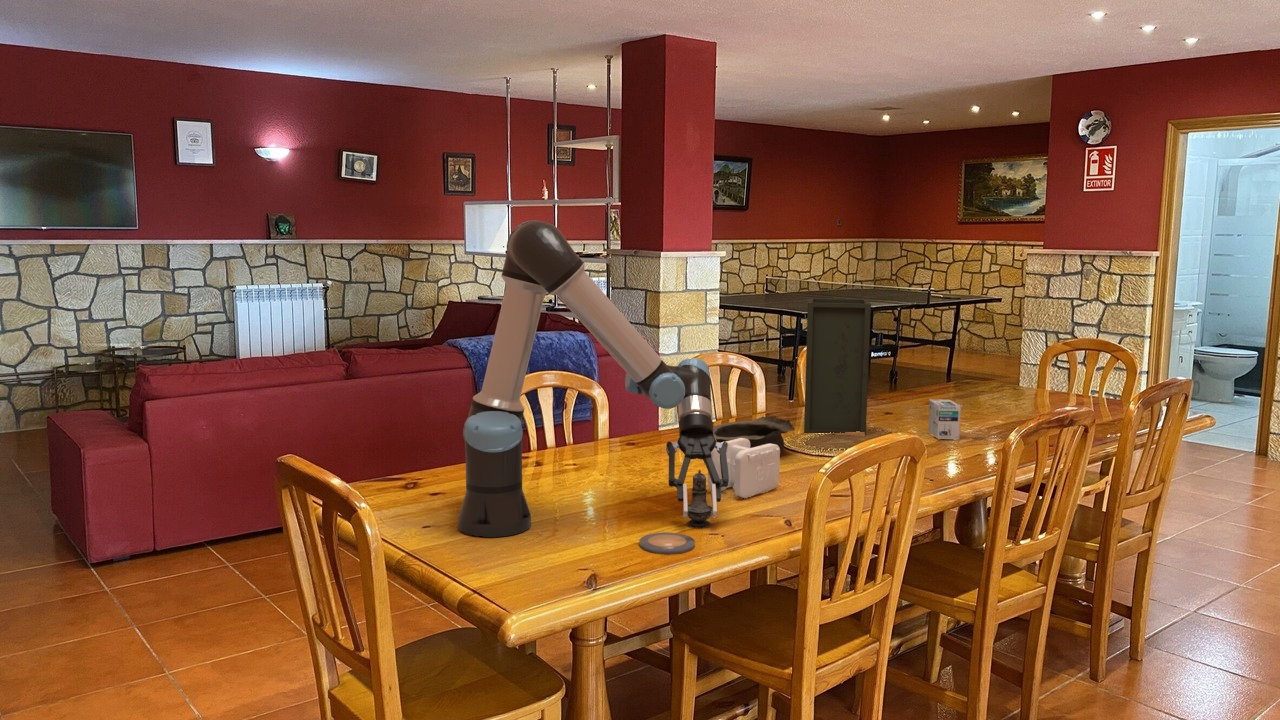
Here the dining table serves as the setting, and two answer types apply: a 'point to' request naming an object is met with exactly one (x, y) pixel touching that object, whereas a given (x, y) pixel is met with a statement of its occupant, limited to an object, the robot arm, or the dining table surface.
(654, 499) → the dining table surface
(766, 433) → the black brimmed hat
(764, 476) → the cable organizer
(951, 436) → the light bulb box
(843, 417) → the dark green rectangular pillar
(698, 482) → the salt shaker
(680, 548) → the coaster
